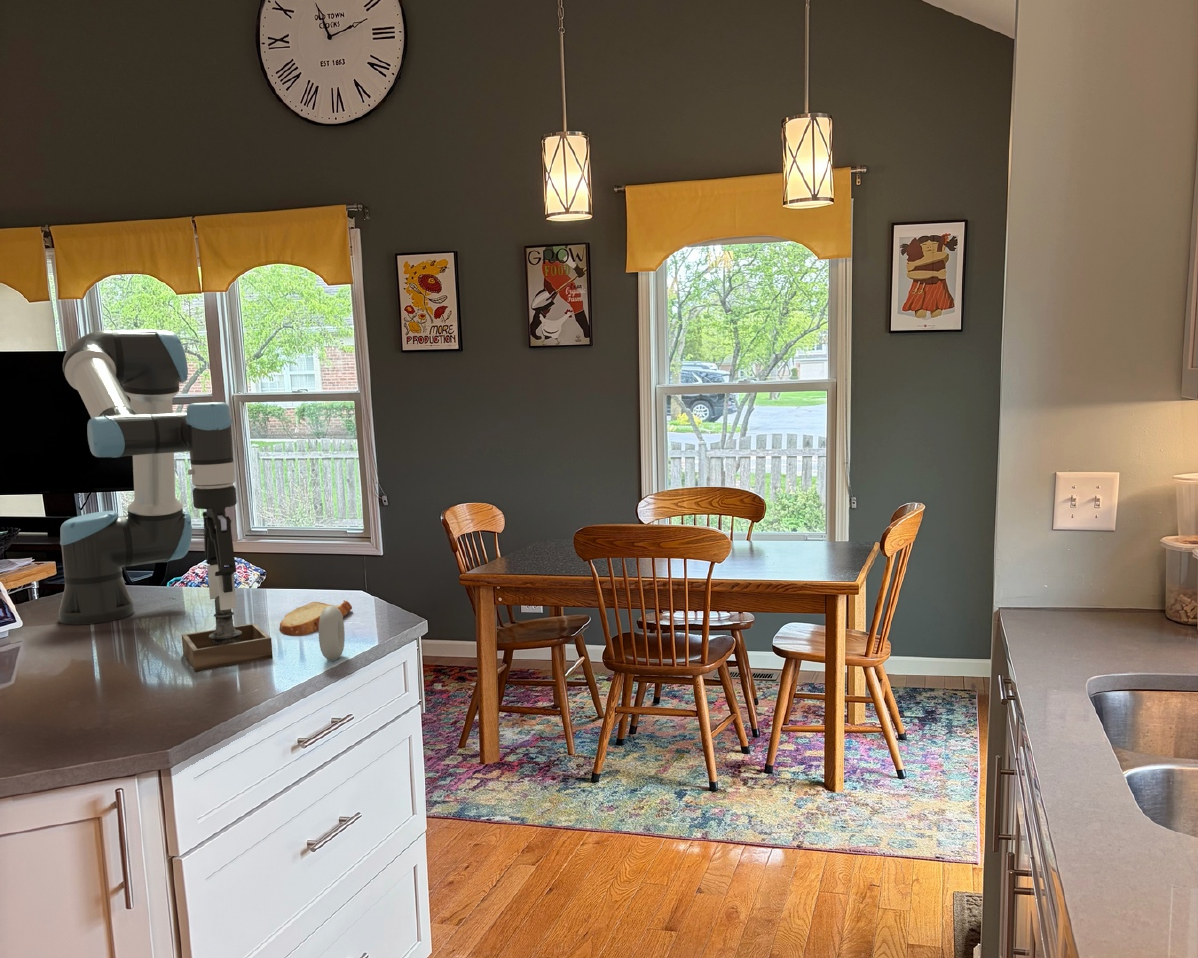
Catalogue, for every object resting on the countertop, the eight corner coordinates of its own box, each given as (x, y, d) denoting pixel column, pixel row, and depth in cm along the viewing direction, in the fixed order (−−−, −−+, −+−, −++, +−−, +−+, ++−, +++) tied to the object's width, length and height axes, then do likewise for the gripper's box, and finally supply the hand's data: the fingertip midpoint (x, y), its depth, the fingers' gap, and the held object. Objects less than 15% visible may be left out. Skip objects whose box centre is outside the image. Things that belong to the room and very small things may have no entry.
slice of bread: (288, 639, 196) (287, 621, 195) (263, 622, 211) (262, 605, 210) (373, 623, 206) (372, 606, 206) (343, 608, 221) (342, 592, 220)
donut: (329, 652, 184) (325, 600, 183) (347, 651, 184) (344, 599, 183) (318, 667, 174) (314, 613, 173) (338, 666, 175) (334, 612, 173)
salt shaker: (232, 657, 180) (226, 593, 179) (203, 656, 181) (198, 593, 180) (249, 648, 186) (244, 586, 184) (222, 647, 187) (216, 586, 186)
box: (183, 655, 186) (181, 634, 185) (256, 642, 193) (255, 623, 192) (195, 672, 174) (193, 650, 174) (272, 658, 181) (271, 637, 181)
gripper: (182, 482, 187) (191, 594, 190) (203, 493, 168) (212, 618, 171) (223, 478, 191) (231, 589, 194) (247, 489, 172) (256, 612, 175)
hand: (222, 603), depth 183 cm, fingers open, 10 cm apart
